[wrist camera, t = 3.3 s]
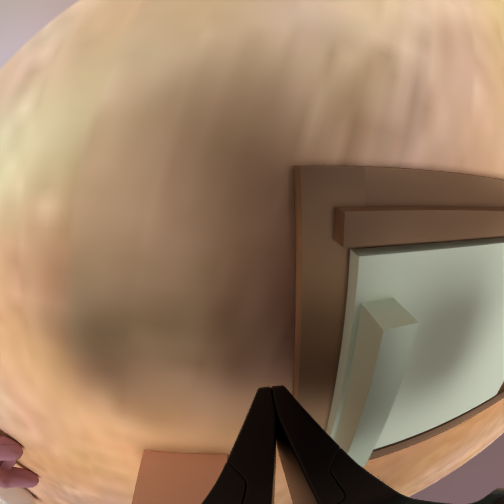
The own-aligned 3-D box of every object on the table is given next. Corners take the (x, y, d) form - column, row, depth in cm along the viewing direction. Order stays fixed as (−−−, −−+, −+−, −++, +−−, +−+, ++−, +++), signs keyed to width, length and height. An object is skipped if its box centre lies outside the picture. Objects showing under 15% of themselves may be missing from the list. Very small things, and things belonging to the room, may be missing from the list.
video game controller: (0, 413, 14) (-48, 435, 8) (25, 450, 13) (-26, 476, 7) (20, 455, 17) (-16, 474, 11) (43, 483, 16) (6, 505, 9)
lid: (491, 389, 12) (507, 407, 10) (321, 451, 12) (330, 485, 9) (542, 234, 9) (570, 246, 7) (349, 249, 8) (385, 278, 6)
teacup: (11, 475, 18) (1, 498, 13) (47, 502, 20) (40, 524, 15) (-9, 468, 18) (-18, 487, 13) (22, 493, 21) (15, 512, 16)
